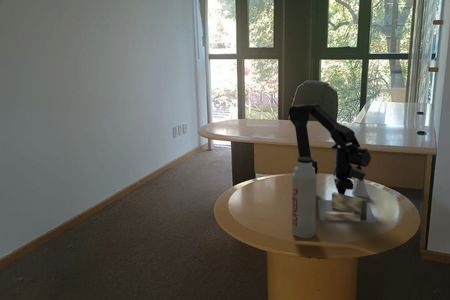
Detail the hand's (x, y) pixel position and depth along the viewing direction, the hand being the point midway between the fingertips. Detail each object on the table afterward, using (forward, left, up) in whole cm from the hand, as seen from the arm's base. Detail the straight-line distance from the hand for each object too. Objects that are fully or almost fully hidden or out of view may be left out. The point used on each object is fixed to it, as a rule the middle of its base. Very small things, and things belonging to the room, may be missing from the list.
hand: (341, 198), depth 162 cm
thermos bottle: (-15, -26, -4) cm, 30 cm away
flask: (+9, +14, -4) cm, 17 cm away
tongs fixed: (0, -13, -3) cm, 13 cm away
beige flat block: (+1, -6, -3) cm, 7 cm away
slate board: (+1, -5, -4) cm, 6 cm away
